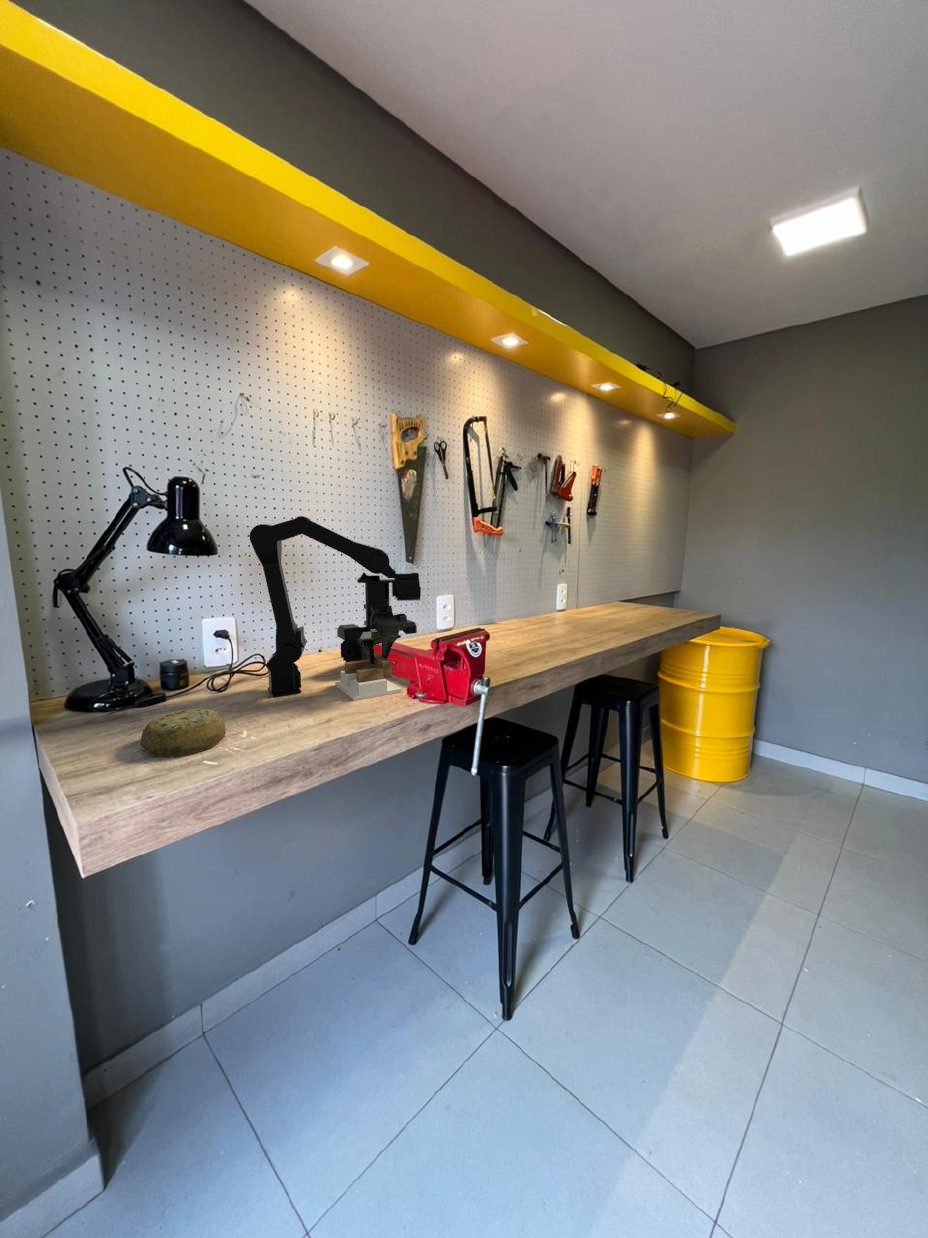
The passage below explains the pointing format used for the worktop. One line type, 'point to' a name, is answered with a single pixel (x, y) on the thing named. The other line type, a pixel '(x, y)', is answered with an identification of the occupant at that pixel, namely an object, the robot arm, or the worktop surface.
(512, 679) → the worktop surface
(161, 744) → the olive green pebble
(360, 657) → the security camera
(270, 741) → the worktop surface
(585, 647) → the worktop surface
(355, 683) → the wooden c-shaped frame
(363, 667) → the wooden c-shaped bracket
